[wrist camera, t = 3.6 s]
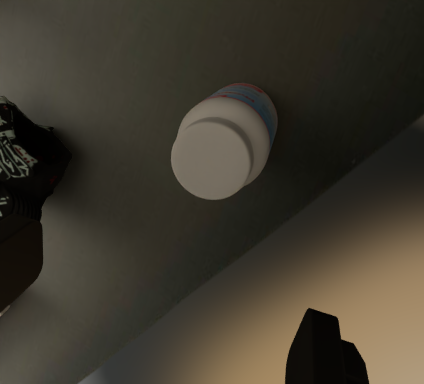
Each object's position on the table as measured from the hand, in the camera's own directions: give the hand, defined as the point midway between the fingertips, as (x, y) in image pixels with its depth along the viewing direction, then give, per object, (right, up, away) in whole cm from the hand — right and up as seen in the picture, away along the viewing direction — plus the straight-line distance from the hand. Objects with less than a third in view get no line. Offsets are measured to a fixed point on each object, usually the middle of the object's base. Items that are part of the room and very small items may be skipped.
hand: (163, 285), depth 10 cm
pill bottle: (+4, +9, +20) cm, 22 cm away
